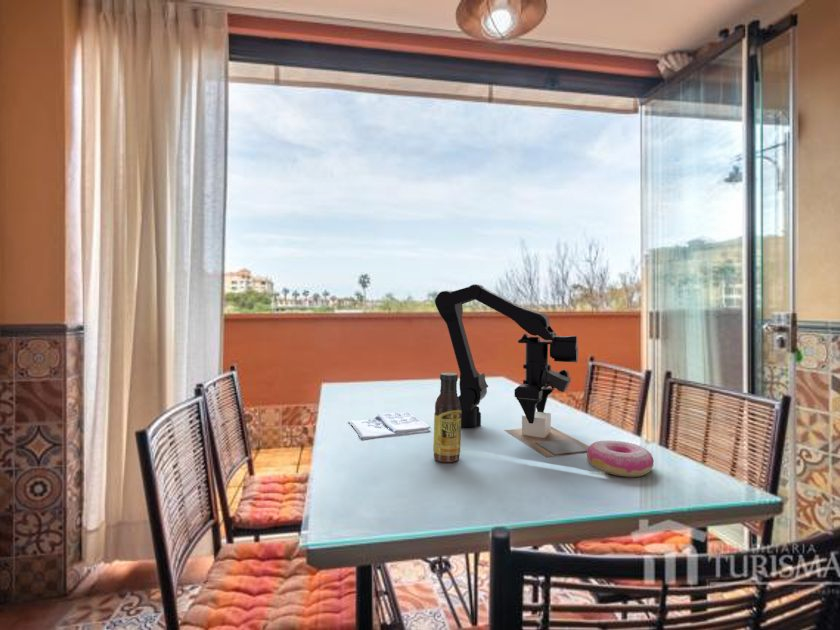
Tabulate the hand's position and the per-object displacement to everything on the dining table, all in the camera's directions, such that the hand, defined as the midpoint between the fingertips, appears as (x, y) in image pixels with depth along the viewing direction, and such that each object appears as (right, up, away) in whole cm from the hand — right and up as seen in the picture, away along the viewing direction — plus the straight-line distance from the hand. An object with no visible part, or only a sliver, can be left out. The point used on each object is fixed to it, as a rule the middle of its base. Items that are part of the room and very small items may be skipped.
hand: (536, 419), depth 126 cm
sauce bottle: (-24, -6, -16) cm, 30 cm away
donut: (+13, -6, -22) cm, 26 cm away
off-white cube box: (0, -4, 0) cm, 4 cm away
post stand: (+2, -5, -6) cm, 8 cm away
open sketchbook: (-40, -5, +11) cm, 42 cm away
